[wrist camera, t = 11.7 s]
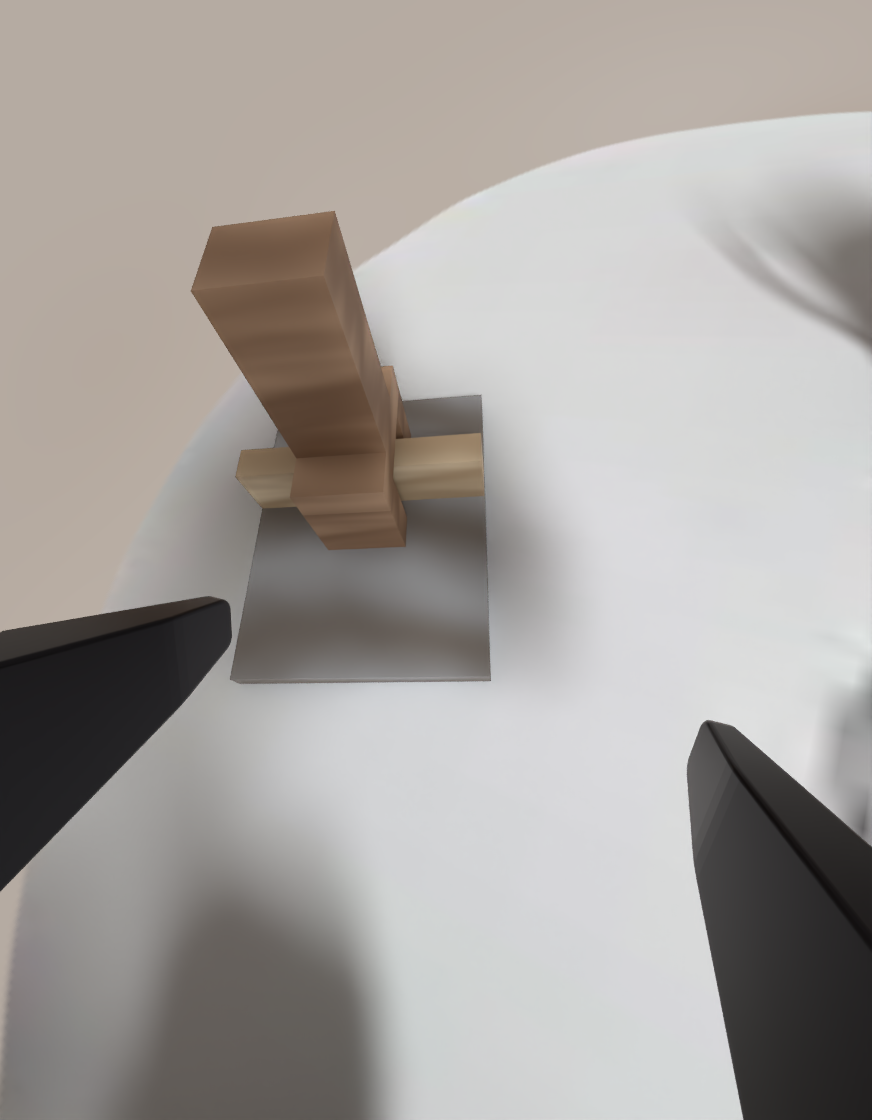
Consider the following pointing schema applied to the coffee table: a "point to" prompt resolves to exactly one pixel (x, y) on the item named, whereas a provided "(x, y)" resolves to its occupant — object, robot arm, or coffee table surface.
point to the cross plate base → (374, 569)
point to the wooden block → (312, 369)
